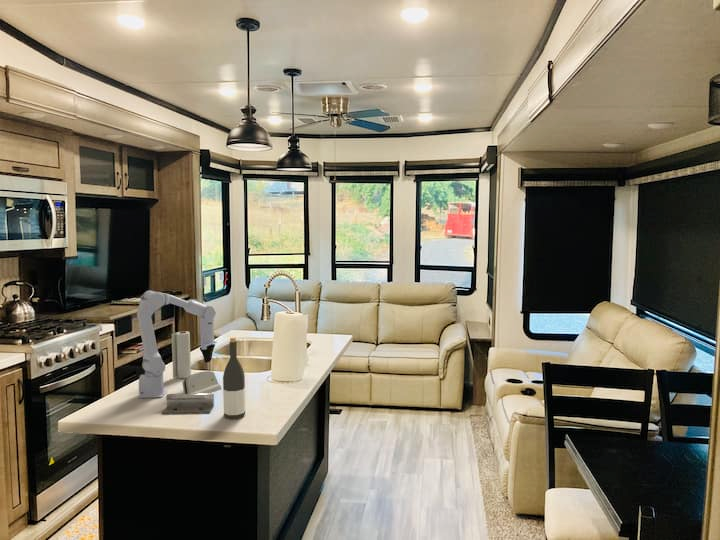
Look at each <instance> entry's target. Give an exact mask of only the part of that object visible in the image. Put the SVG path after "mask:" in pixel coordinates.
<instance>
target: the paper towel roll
mask: <svg viewBox="0 0 720 540" xmlns="http://www.w3.org/2000/svg"><path fill="white" fill-rule="evenodd" d="M190 333H191V332H190V331H187V330H186V331H178V332H174V333H171V353H172V355H171V357H172V358H171V359H172V379H175V378H178V379H186V378H188V377H189V376H191V375H192V367H191V366H192V364H191V363H192V362H191V359H192V358H191V334H190Z"/></svg>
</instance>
